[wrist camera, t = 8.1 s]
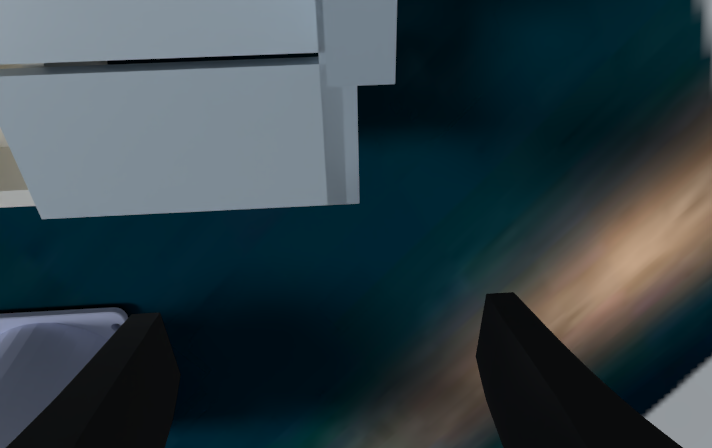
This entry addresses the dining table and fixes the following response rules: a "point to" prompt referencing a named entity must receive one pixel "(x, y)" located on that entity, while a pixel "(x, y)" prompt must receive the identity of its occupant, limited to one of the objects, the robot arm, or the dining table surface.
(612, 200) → the dining table surface
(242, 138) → the lid
